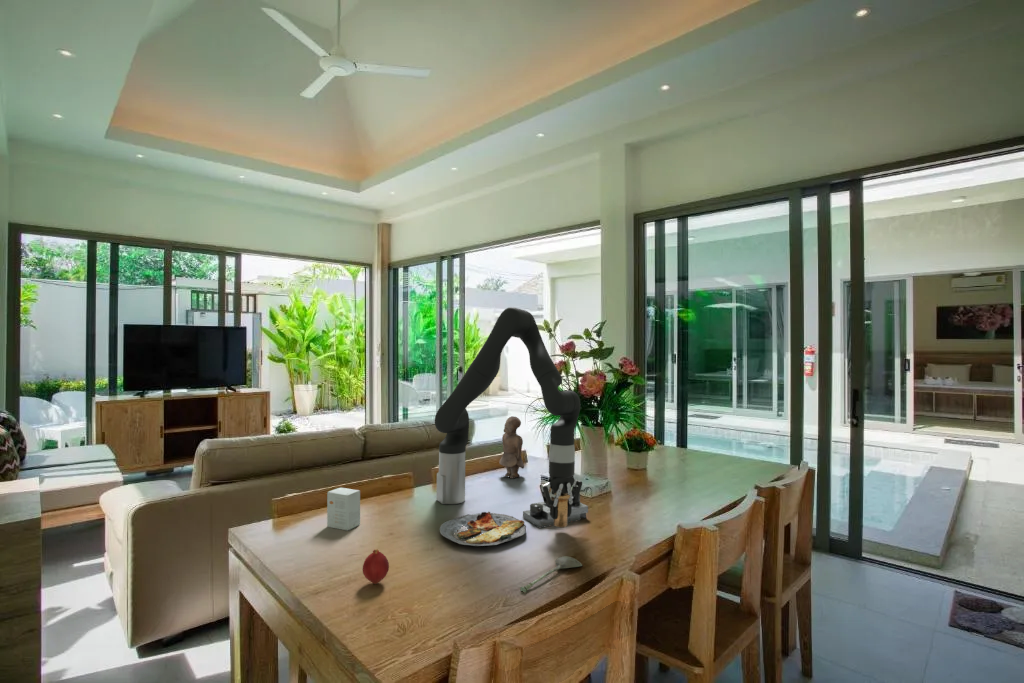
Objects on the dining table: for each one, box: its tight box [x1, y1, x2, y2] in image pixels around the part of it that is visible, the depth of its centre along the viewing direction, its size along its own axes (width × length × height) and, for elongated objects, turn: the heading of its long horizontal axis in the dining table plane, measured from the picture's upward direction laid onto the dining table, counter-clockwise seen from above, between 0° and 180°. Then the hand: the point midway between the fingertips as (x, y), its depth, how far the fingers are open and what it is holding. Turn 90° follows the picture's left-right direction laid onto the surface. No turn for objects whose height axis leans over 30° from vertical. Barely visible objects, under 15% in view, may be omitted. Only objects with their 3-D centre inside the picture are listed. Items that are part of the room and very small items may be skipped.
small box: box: [326, 486, 361, 531], centre depth 154 cm, size 8×6×10 cm
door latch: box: [522, 493, 589, 528], centre depth 163 cm, size 18×10×7 cm, turn 118°
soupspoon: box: [520, 555, 583, 593], centre depth 123 cm, size 22×3×7 cm
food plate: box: [439, 511, 527, 548], centre depth 149 cm, size 25×23×4 cm
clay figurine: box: [498, 416, 525, 479], centre depth 212 cm, size 13×10×25 cm
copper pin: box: [553, 493, 570, 528], centre depth 151 cm, size 5×5×9 cm
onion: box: [362, 548, 390, 585], centre depth 118 cm, size 6×6×8 cm
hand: (560, 516), depth 151 cm, fingers closed on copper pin, 4 cm apart
